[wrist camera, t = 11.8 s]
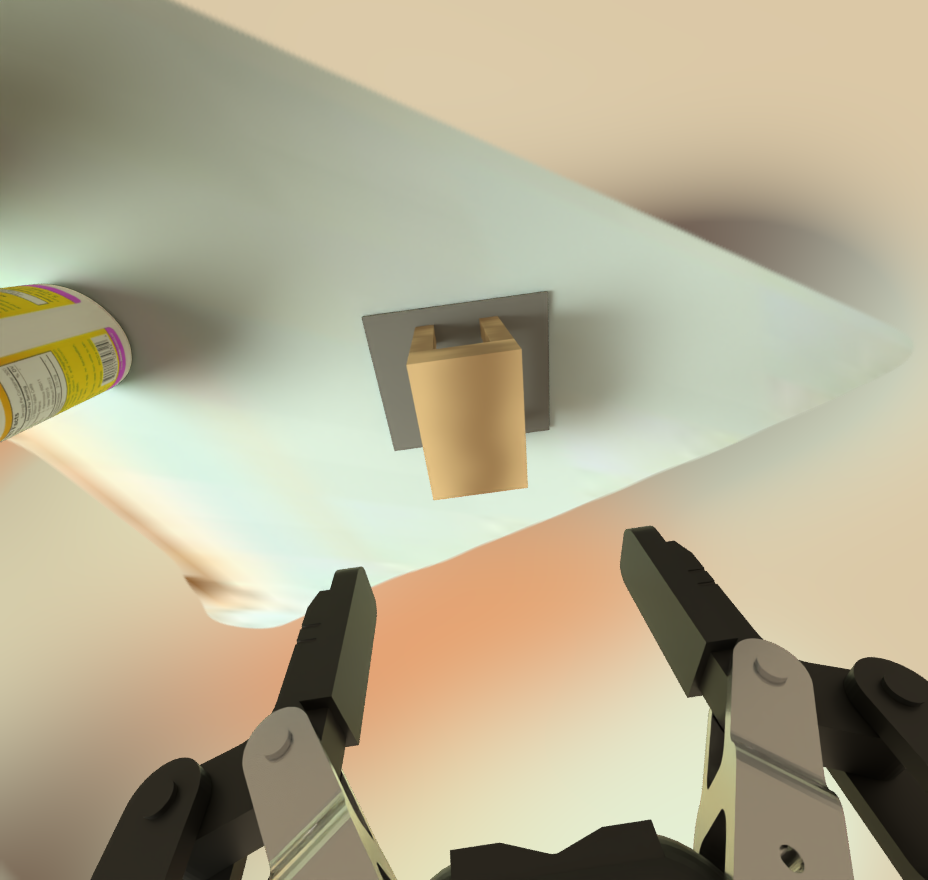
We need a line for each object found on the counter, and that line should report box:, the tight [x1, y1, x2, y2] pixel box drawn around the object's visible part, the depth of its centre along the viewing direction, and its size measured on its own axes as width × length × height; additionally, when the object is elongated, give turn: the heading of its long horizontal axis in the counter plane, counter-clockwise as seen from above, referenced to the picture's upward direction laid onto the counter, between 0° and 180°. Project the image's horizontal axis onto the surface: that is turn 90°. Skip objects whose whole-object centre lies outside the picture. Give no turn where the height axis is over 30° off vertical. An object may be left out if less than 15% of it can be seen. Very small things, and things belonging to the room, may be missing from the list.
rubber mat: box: [362, 291, 549, 451], centre depth 26 cm, size 12×10×1 cm
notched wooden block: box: [406, 316, 528, 500], centre depth 23 cm, size 5×8×8 cm
